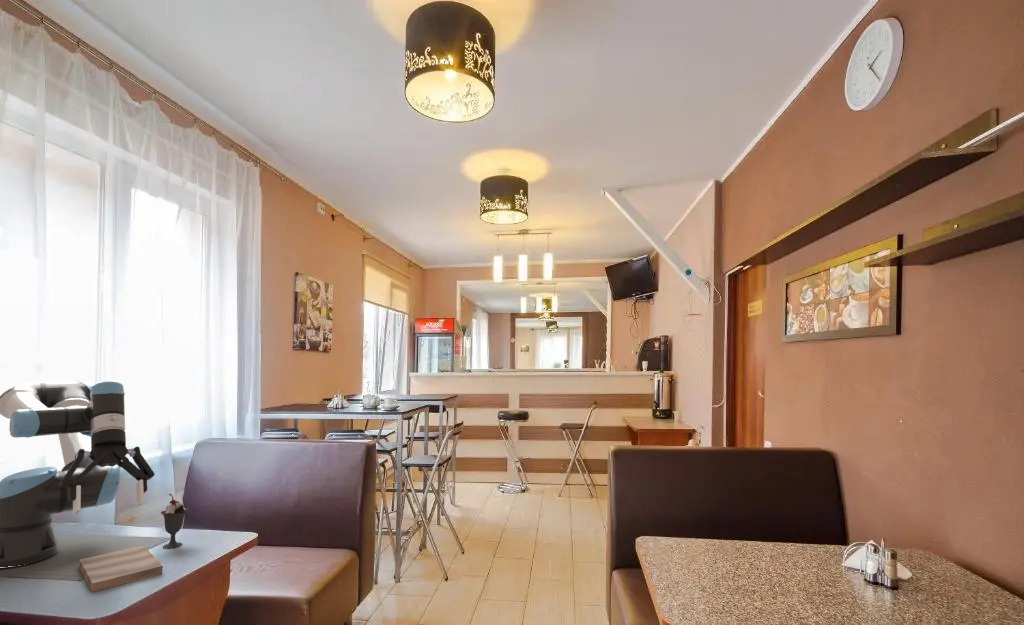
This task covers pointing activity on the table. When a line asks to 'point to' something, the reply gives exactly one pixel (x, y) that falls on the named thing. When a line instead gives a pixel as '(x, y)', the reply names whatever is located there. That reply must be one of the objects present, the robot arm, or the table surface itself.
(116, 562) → the brown flat wooden slab
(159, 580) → the table surface
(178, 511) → the sundae
